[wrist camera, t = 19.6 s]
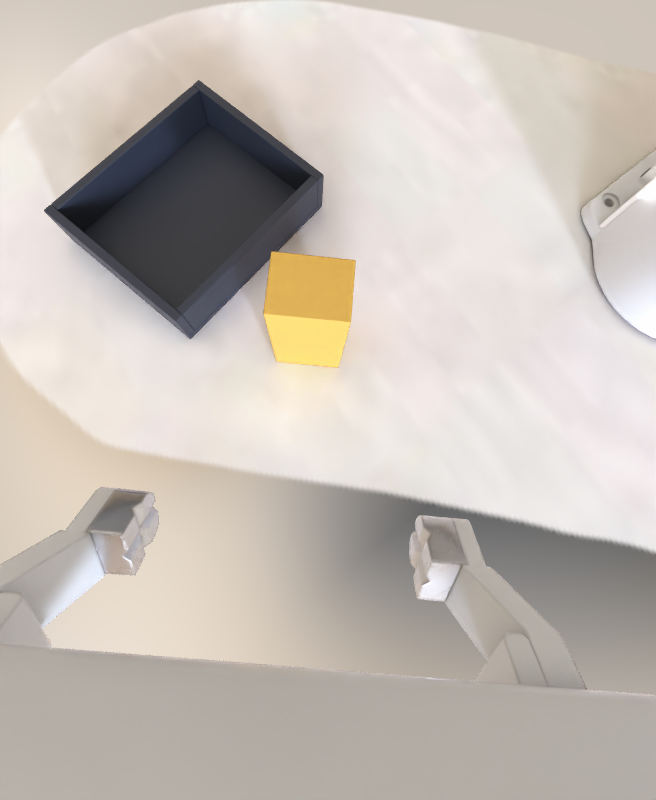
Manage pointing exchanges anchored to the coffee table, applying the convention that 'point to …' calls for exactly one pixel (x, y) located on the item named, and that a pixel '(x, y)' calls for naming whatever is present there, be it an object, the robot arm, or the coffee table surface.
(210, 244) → the pan
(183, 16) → the coffee table surface
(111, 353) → the coffee table surface
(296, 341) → the cheese
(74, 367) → the coffee table surface
